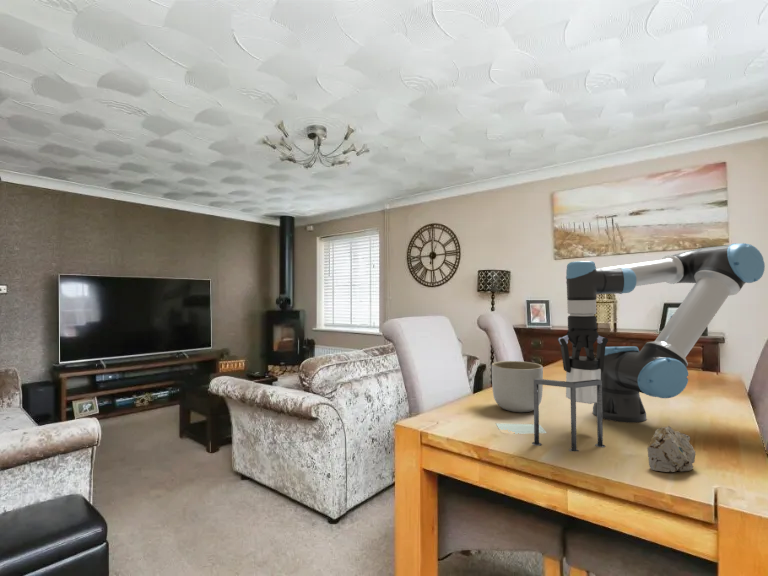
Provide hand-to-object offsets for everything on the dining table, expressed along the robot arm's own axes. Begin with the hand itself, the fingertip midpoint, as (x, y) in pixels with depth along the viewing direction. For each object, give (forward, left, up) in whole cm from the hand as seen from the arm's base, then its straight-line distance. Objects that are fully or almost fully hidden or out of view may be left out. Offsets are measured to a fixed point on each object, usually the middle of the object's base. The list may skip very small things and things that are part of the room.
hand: (584, 396), depth 116 cm
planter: (+13, -24, -11) cm, 29 cm away
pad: (+17, +1, -10) cm, 20 cm away
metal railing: (+8, +11, -10) cm, 17 cm away
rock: (-10, +26, -11) cm, 30 cm away
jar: (0, 0, -1) cm, 1 cm away
